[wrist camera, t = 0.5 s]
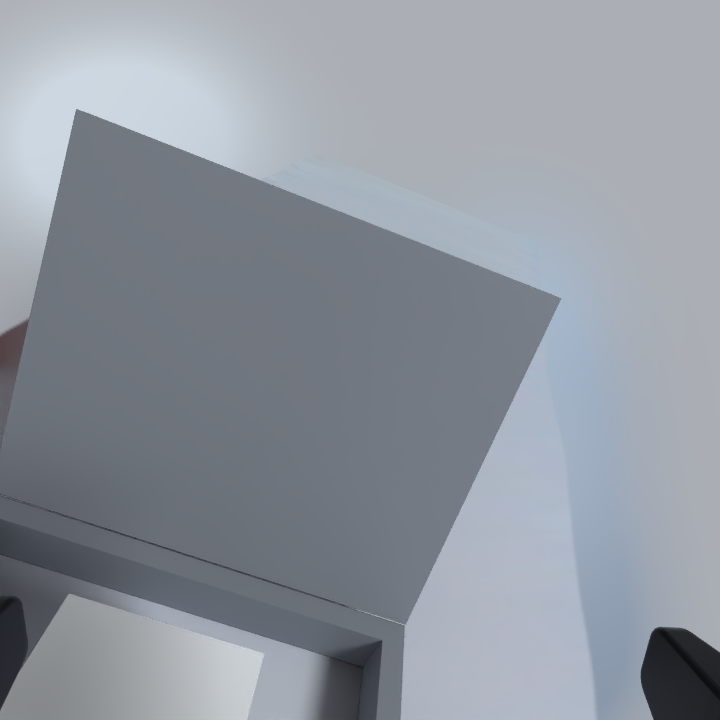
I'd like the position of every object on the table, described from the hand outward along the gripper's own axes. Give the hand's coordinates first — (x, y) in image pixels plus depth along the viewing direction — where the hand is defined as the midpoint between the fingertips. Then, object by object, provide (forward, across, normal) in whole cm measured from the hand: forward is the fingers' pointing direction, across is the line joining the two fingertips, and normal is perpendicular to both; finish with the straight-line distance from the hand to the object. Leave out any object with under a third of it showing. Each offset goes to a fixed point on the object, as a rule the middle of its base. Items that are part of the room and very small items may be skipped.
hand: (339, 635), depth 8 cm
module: (+7, +7, +14) cm, 18 cm away
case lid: (+14, +3, +2) cm, 15 cm away
